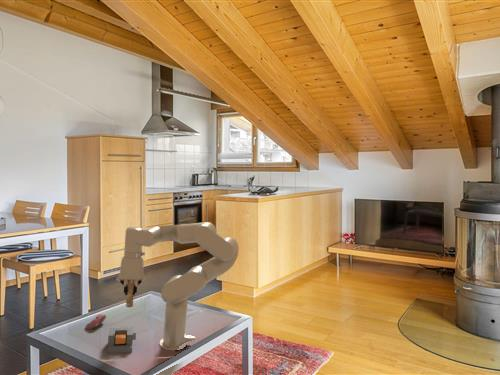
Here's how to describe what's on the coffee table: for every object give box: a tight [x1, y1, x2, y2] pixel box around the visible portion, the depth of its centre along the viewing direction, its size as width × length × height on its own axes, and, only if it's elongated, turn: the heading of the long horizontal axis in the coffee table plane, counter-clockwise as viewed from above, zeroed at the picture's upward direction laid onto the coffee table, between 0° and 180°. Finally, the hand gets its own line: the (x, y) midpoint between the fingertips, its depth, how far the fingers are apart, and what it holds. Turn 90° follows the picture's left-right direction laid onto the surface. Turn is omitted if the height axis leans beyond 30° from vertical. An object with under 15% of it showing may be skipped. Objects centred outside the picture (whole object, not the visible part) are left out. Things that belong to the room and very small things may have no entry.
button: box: [115, 334, 126, 345], centre depth 170 cm, size 4×4×2 cm
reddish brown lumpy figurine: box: [84, 313, 107, 330], centre depth 189 cm, size 10×5×7 cm
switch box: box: [106, 326, 134, 354], centre depth 170 cm, size 10×10×7 cm
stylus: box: [125, 280, 135, 308], centre depth 178 cm, size 3×3×14 cm
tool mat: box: [133, 332, 137, 341], centre depth 180 cm, size 7×7×1 cm
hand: (130, 294), depth 178 cm, fingers closed on stylus, 3 cm apart
